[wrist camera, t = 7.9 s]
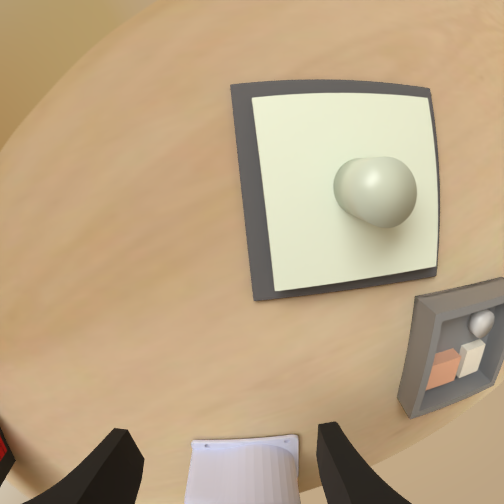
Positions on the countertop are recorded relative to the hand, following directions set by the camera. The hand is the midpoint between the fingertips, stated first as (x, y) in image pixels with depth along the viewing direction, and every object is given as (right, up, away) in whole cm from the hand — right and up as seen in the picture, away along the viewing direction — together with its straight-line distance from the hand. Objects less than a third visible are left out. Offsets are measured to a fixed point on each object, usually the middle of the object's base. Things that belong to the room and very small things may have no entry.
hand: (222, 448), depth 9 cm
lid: (+7, +11, +7) cm, 15 cm away
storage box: (+18, 0, +11) cm, 21 cm away
